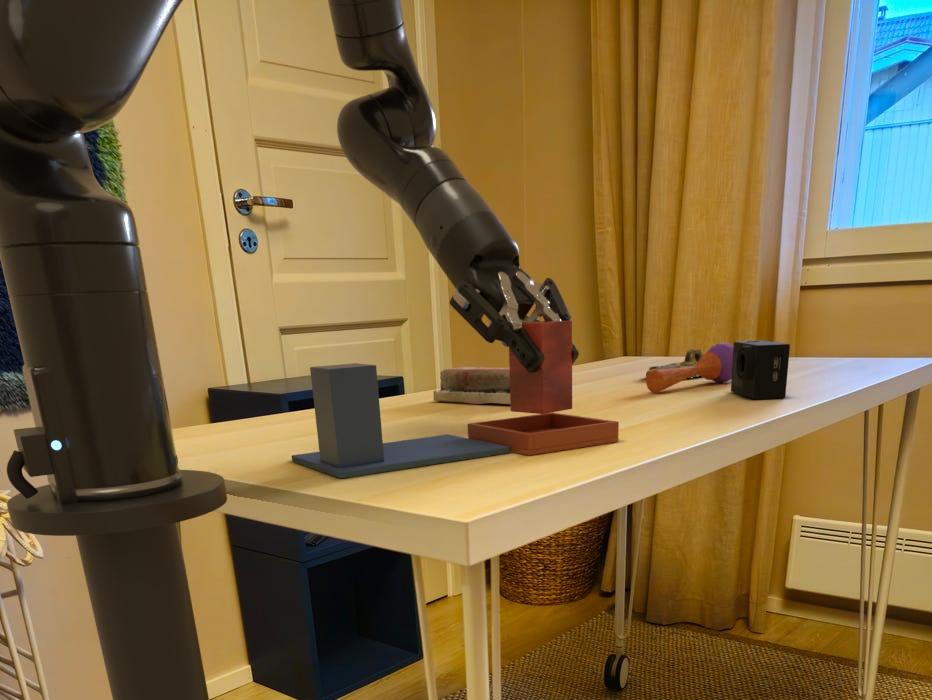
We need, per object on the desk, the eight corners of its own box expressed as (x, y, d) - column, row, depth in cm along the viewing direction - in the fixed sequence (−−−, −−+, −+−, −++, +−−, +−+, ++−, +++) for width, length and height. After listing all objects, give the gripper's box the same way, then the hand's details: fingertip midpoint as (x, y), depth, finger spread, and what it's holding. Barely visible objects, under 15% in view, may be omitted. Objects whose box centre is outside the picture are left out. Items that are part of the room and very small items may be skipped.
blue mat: (340, 478, 75) (339, 471, 75) (291, 461, 85) (291, 455, 84) (510, 452, 84) (509, 446, 83) (448, 439, 93) (448, 434, 93)
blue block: (339, 468, 77) (329, 369, 73) (320, 461, 80) (309, 366, 77) (384, 461, 79) (376, 365, 76) (364, 455, 82) (355, 363, 79)
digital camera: (721, 392, 123) (724, 341, 121) (759, 390, 124) (763, 339, 121) (744, 400, 114) (748, 345, 111) (785, 398, 114) (790, 343, 111)
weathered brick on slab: (428, 368, 126) (472, 363, 133) (430, 402, 128) (473, 395, 135) (526, 370, 115) (567, 364, 123) (526, 407, 117) (567, 399, 124)
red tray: (528, 455, 82) (528, 434, 81) (468, 442, 91) (467, 423, 90) (618, 441, 87) (618, 421, 86) (553, 430, 96) (552, 412, 95)
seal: (676, 388, 141) (722, 378, 151) (680, 358, 139) (726, 350, 149) (630, 379, 147) (677, 371, 156) (633, 351, 144) (680, 344, 154)
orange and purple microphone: (635, 364, 127) (714, 344, 139) (642, 404, 129) (719, 381, 140) (667, 357, 123) (746, 337, 134) (674, 399, 124) (751, 375, 136)
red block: (543, 414, 85) (541, 323, 82) (510, 411, 88) (507, 323, 85) (572, 408, 88) (572, 320, 84) (540, 406, 91) (538, 321, 88)
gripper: (429, 206, 81) (525, 341, 77) (531, 210, 90) (621, 331, 86) (398, 270, 87) (486, 398, 83) (497, 267, 96) (581, 383, 92)
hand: (555, 363), depth 85 cm, fingers closed on red block, 4 cm apart
